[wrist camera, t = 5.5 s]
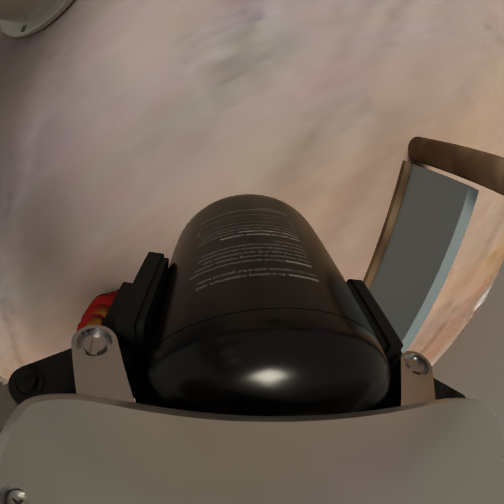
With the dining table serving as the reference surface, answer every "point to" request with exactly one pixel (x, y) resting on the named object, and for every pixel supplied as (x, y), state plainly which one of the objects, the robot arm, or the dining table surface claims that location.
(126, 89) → the dining table surface
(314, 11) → the dining table surface
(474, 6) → the dining table surface
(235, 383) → the supplement bottle
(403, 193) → the door frame
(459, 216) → the door
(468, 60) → the dining table surface
